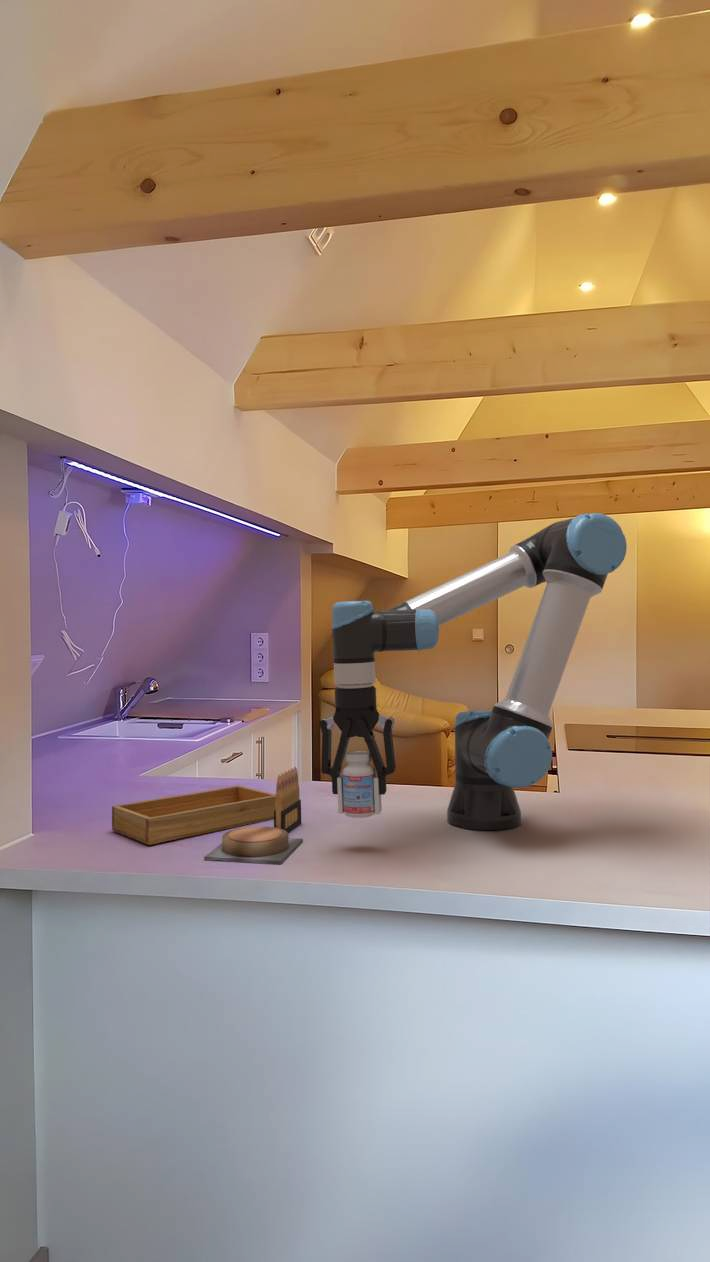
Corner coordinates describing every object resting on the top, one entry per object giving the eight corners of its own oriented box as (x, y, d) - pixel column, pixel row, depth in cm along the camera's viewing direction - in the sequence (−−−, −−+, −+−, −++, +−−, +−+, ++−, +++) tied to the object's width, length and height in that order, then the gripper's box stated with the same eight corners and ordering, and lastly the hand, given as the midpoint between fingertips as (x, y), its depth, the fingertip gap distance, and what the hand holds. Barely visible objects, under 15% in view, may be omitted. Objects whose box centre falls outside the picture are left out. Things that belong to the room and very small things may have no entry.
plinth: (302, 841, 147) (302, 825, 147) (280, 864, 133) (280, 846, 133) (232, 838, 150) (232, 822, 150) (204, 860, 136) (204, 842, 136)
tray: (239, 808, 176) (238, 783, 176) (280, 820, 165) (279, 793, 165) (111, 834, 155) (111, 805, 155) (148, 849, 144) (148, 819, 144)
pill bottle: (341, 818, 139) (338, 756, 139) (346, 810, 145) (344, 750, 145) (374, 818, 138) (371, 755, 138) (379, 810, 144) (376, 749, 144)
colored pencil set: (282, 837, 150) (281, 775, 150) (273, 836, 151) (273, 775, 151) (301, 823, 160) (301, 765, 160) (293, 823, 161) (292, 765, 161)
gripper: (409, 682, 143) (414, 807, 144) (309, 684, 147) (315, 806, 147) (404, 686, 136) (409, 817, 136) (299, 688, 140) (304, 816, 140)
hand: (360, 811), depth 142 cm, fingers closed on pill bottle, 6 cm apart
